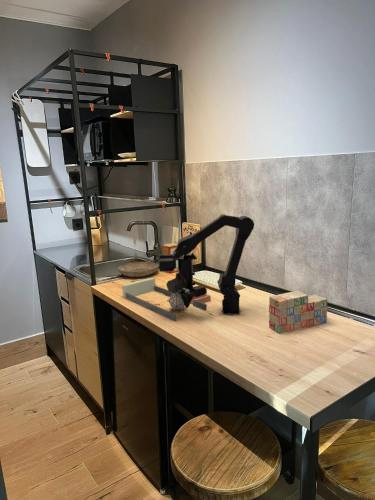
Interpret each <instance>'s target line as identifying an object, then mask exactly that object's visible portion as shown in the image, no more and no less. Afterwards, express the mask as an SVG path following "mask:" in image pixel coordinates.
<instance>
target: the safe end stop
mask: <svg viewBox="0 0 375 500" xmlns="http://www.w3.org/2000/svg"><path fill="white" fill-rule="evenodd" d="M155 285H156V278H154V277H149V278H145V279H141V280H137V281H132V282H129V283H128V282H127V283H125V284H124V283H123V284H122V285H121V289H122V298H124V299H126V295H125V293H128V294H130V295H133V296H135V297H137V296H140V295H143V294H147V293H151V292H155V291H154V286H155Z"/></svg>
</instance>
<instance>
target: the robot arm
mask: <svg viewBox="0 0 375 500" xmlns="http://www.w3.org/2000/svg"><path fill="white" fill-rule="evenodd" d="M225 226H227V227H230V228H235V238H234V241H233V245H232V248H231V252H230V256H229V258H228V261H227V262H228V263H227V266H226V268H225V271H224V272H223V273H221V272H220V273H219V276H218V277H219V278H218V280H217V281H216V282H217V287H218V289H219V292H220V293H221V295H222V296H223V299H222V300H221V306H222V307H221V310H222V312H223V315H240V313H241V311H240V298H241V295H240V292H239V291H238V288H237V287H236V274H237V271H238V267H239V266H240V265H239V264H240V262H241V258H242V254H243V251H244V249H245V244H246V242H247V240H248V238H249V237H250V236H251V234H252V232H253V230H254V228H255V222H254V220H253V219H252V218H250V217H249V216H248V215H242V216H234V215H233V216H232V215H227V214H223V213H222V214H220V215H219V216H218V217H217V218H216V219H214V220H212V221H211V222H210V223H208V224H206V225H205V226H204V227H202V228H200V229H199V230H198V231H196V232H195V233H192V234H190V235H187V236H184V237H182V238H180V239H179V240H178V241H177V248H176V249H175V251H174V252H173V254H168V255H164V254H158V255H159V256H158V258H159V264H158V265H159V268H158V269H159V272H160V273H161V272H163V273H166V272H165V271H174V270H175V268H176V260H178V272H175V277H174V278H172V279H171V280H168V281H167V282H166V289H167V290H168V291H169V292H173V293H178V294H180V295H181V297H182V300H183V302H184V305H185V306H184V308H185V309H188V308H190V305H191V304H190V303H191V301H192V299H193V297H199V296H202V295H205V294H208V288H206V286H202V285H196V282H195V281H194V276H195V275H196V272H194V269H193V267H194V266H193V260H197V259H198V257H197V255H195V253H194V252H193V251H194V249H196V248H197V247H198V246H199V244H200V243H201V242H203V241H204V240H206V239H207V238H209V237H210V236H211V235H213V234H215V233H216V232H218V231H220V230H221V229H222V228H224V227H225ZM181 256H182V257H181Z"/></svg>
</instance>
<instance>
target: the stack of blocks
mask: <svg viewBox="0 0 375 500" xmlns="http://www.w3.org/2000/svg"><path fill="white" fill-rule="evenodd" d="M268 300H269V304H268V313H269V314H268V317H269V318H268V319H269V321H268V328H269V329H270V330H271V331H274V332H275V333H278V335H281V334H285V333H286V334H287V333H290V332H294V331H299V330H302V329H304V328H310V327H313V326H317V325H321V324H325V323H327V318H328V307H327V306H328V298H325V297H323V296H320V295H317V294H311V295H308V294H305V293H303V292H300V291H299V290H295V291H290V292H285V293H279V294H276V295H270V296H269V299H268Z"/></svg>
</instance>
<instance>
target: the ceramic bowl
mask: <svg viewBox="0 0 375 500" xmlns="http://www.w3.org/2000/svg"><path fill="white" fill-rule="evenodd" d="M158 269H159V264H158V263H156V262H152V261H151V262H150V261H136V262H135V261H134V262H128V263H124V264H121V265H120V266H118V267H117V271H118V272H119V273H120V274H121V275H123V276H125V277H129V278H140V277H141V278H142V277H146V276H150V275H152V274H153V273H155V272H157V270H158Z"/></svg>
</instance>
